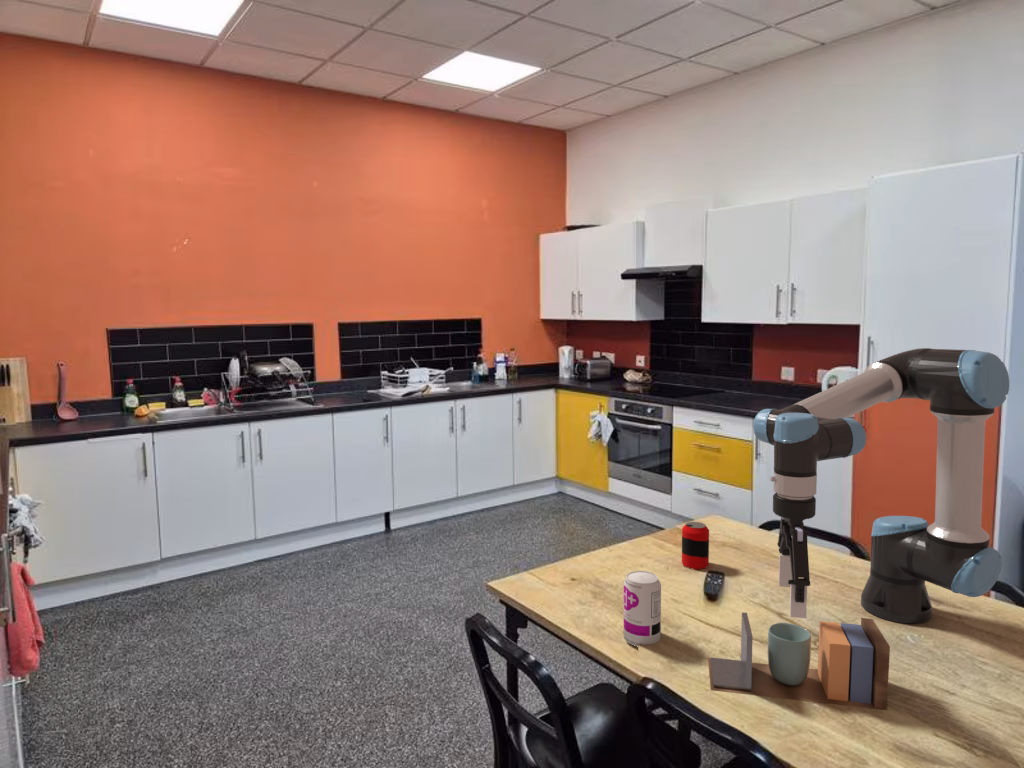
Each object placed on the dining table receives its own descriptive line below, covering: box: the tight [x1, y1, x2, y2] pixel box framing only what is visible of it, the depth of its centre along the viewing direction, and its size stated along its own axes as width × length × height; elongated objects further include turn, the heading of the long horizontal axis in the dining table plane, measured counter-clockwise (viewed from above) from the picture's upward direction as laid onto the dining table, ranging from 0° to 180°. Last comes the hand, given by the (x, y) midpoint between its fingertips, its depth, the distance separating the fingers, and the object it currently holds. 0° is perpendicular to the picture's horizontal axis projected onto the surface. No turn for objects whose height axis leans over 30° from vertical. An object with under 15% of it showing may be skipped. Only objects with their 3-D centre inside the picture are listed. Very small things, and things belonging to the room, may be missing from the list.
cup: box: [767, 622, 812, 686], centre depth 130 cm, size 8×8×10 cm
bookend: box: [710, 612, 754, 691], centre depth 132 cm, size 7×10×11 cm
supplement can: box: [623, 570, 662, 648], centre depth 149 cm, size 8×8×15 cm
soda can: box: [681, 521, 710, 570], centre depth 192 cm, size 8×8×12 cm
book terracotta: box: [817, 620, 850, 701], centre depth 128 cm, size 4×9×11 cm, turn 166°
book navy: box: [840, 622, 874, 704], centre depth 127 cm, size 4×9×11 cm, turn 166°
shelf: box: [707, 617, 891, 711], centre depth 130 cm, size 31×12×13 cm, turn 76°
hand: (791, 600), depth 128 cm, fingers open, 13 cm apart
